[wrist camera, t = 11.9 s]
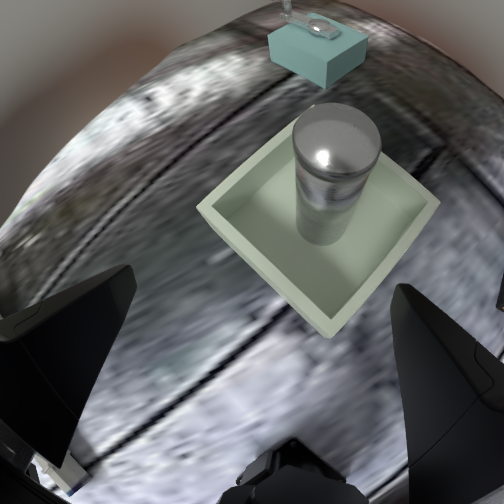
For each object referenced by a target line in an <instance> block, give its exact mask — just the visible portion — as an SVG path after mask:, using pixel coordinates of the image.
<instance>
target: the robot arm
mask: <svg viewBox="0 0 504 504" xmlns="http://www.w3.org/2000/svg"><path fill="white" fill-rule="evenodd" d="M136 289H137V284H136V280H135V276H134V273H133V269H132V267H131V266H130V265H126V264H119V265H117V266H115V267H113V268H110V269H108V270H106V271H104V272H102V273H99V274H97V275H95V276H93V277H91V278H89V279H86V280H84V281H82V282H80V283H78V284H76V285H74V286H72V287H69V288H67V289H65V290H63V291H61V292H59V293H57V294H55V295H53V296H51V297H49V298H47V299H44V301H40V302H38V303H36V304H34V305H32V306H30V307H28V308H26V309H24V310H21V311H19V312H17V313H15V314H12V315H10V316H8V317H6V318H3V319H1V320H0V504H71V503H69V502H68V501H66V500H64V499H63V498H61V497H59V496H58V495H56V494H54V493H53V492H51V491H50V490H48V489H47V488H45V487H44V486H42V485H41V484H40V481H39V477H38V474H37V470H36V466H35V465H34V464H32V463H31V461H32V460H33V458H34V456H35V454H36V455H37V456H39V457H40V458H42V459H43V460H45V461H46V462H48V463H50V464H51V465H53V466H54V467H56V468H58V469H61V467H62V465H63V462H64V459H65V456H66V453H67V451H68V448H69V445H70V443H71V440H72V437H73V435H74V432H75V430H76V427H77V425H78V422H79V420H78V419H80V417H81V414H82V412H83V410H84V407H85V405H86V403H87V400H88V398H89V396H90V393H91V391H92V389H93V386H94V384H95V382H96V380H97V377H98V375H99V373H100V371H101V369H102V367H103V364H104V362H105V360H106V358H107V356H108V354H109V352H110V350H111V347H112V345H113V343H114V341H115V339H116V337H117V335H118V333H119V331H120V329H121V327H122V325H123V323H124V320H125V318H126V315H127V313H128V310H129V307H130V305H131V302H132V300H133V297H134V295H135V292H136ZM390 312H391V322H392V333H393V346H394V354H395V359H396V365H397V371H398V377H399V383H400V390H401V397H402V404H403V412H404V420H405V429H406V440H407V452H408V468H409V504H504V364H503V363H502V362H501V361H500V360H498V359H497V358H496V357H495V356H494V355H493V354H491V353H490V352H489V351H488V350H487V349H486V348H485V347H483V346H482V345H481V344H480V343H479V342H478V341H476V339H475V338H473V337H472V336H471V335H470V334H469V333H468V332H467V331H465V330H464V329H463V328H462V327H461V326H460V325H459V324H457V323H456V322H455V321H454V320H453V319H452V318H450V317H449V316H448V315H447V314H446V313H444V312H443V311H442V310H441V309H440V308H439V307H437V306H436V305H435V304H434V303H432V302H431V301H430V300H429V299H428V298H426V297H425V296H424V295H423V294H421V293H420V292H419V291H418V290H416V289H415V288H414V287H413V286H411V285H410V284H404V283H399V284H397V286H396V288H395V291H394V295H393V298H392V302H391V306H390ZM292 441H295V442H296V445H291V444H290V443H291V442H292ZM240 480H241V482H240ZM339 480H343V481H342V482H339ZM236 484H237V485H238V486H235V487H231V488H230V489H228V490H227V491H225V492H224V493H223V494H222V496H221V497H220V499H219V500H218V502H217V503H216V504H368V503H369V500H368V499H367V498H366V497H365V496H364V495H363V494H362V493H361V492H360V491H359V490H358V489H357V488H356V487H355V486H353V485H350V484H346V478H345V477H344V476H343V475H342V474H340V473H339V472H338V471H337V470H335V469H334V468H333V467H332V466H330V465H329V464H328V463H327V462H325V461H324V460H323V459H322V458H321V457H319V456H318V455H317V454H316V453H315V452H313V451H312V450H311V449H310V448H309V447H308V446H306V445H305V444H304V443H303V442H302V441H301V440H299V439H298V438H297V437H291V438H289V439H288V440H287V441H285V442H284V443H283V444H282V445H280V446H279V447H278V448H277V449H275V450H268V451H267V452H265V453H264V454H263V455H261V456H260V457H259V458H257V459H256V460H255V461H253V462H252V463H251V464H249V465H248V466H247V467H246V470H245V472H244V473H243V474H242V475H240V476H239V477H238V478H237V480H236Z"/></svg>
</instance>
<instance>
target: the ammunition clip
mask: <svg viewBox="0 0 504 504" xmlns="http://www.w3.org/2000/svg"><path fill="white" fill-rule="evenodd" d="M496 308H497V309H499V310H501V311H502V312H504V274H503V279H502V283H501V288H500V292H499V296H498V300H497V304H496Z"/></svg>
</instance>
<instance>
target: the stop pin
mask: <svg viewBox="0 0 504 504" xmlns="http://www.w3.org/2000/svg"><path fill="white" fill-rule="evenodd" d="M292 144H293V152H294V155H295V183H296V226H297V229H298V232H299V233H300V235H301V236H302V237H303V238H304V239H305V240H306V241H307V242H309V243H311V244H314V245H318V246H327V245H331V244H333V243H335V242H337V241H338V240H339V239H340V238H341V237H342V236H343V234H344V232H345V230H346V228H347V226H348V223H349V221H350V219H351V217H352V214H353V212H354V210H355V208H356V205H357V203H358V201H359V198H360V196H361V194H362V191H363V189H364V187H365V184H366V182H367V179H368V177H369V175H370V173H371V171H372V170H373V169H374V167H375V165H376V163H377V160H378V158H379V155H380V152H381V147H382V142H381V137H380V134H379V132H378V129H377V127H376V126H375V124H374V123H373V121H372V120H371V119H370V118H369V117H368V116H367V115H365V114H364V113H363V112H361V111H360V110H358V109H356V108H354V107H351V106H348V105H345V104H340V103H324V104H319V105H316V106H313V107H311V108H309V109H307V110H306V111H305V112H303V113H302V114H301V115H300V116H299V118H298V119H297V120H296V122H295V124H294V127H293V131H292Z"/></svg>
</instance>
